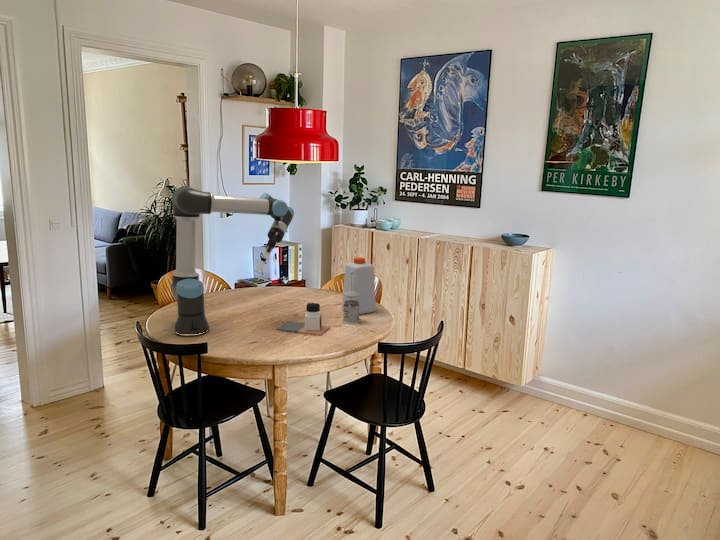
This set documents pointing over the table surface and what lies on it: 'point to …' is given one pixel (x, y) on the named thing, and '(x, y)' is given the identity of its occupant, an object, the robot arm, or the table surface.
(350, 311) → the french press
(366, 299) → the plastic bottle
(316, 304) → the medicine bottle
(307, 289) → the table surface
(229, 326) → the table surface
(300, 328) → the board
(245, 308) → the table surface
